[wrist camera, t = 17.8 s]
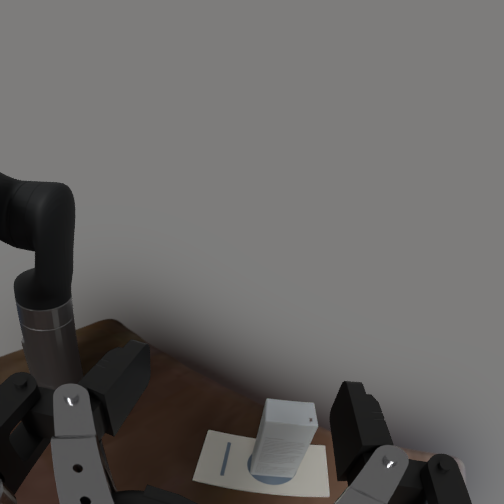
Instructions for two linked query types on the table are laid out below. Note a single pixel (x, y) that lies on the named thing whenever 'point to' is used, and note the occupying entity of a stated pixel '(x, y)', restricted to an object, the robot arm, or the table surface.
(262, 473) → the skincare box
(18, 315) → the robot arm
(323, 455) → the paper sheet
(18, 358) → the table surface
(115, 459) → the table surface
